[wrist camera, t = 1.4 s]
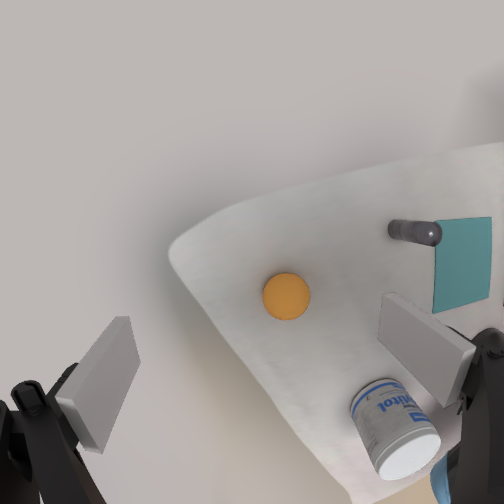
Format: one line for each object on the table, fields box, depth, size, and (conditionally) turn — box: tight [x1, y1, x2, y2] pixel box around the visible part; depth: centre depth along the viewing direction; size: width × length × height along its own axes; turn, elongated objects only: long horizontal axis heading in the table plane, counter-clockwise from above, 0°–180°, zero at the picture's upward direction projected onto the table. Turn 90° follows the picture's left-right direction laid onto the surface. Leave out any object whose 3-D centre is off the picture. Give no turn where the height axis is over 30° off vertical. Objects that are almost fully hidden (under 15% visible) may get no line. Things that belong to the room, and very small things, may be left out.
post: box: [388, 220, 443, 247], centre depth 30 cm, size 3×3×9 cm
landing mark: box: [432, 217, 492, 314], centre depth 35 cm, size 14×14×1 cm
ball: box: [263, 273, 310, 320], centre depth 33 cm, size 6×6×6 cm
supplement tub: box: [351, 379, 441, 481], centre depth 31 cm, size 10×10×15 cm
